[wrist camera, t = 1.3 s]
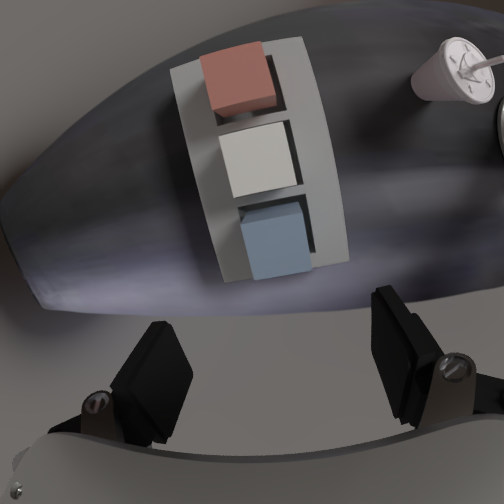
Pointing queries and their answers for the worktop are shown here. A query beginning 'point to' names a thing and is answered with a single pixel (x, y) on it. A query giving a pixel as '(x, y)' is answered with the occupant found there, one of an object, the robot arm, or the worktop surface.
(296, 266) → the blue key
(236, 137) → the white key
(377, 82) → the worktop surface
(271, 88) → the red key
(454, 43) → the smoothie
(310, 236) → the keypad housing
